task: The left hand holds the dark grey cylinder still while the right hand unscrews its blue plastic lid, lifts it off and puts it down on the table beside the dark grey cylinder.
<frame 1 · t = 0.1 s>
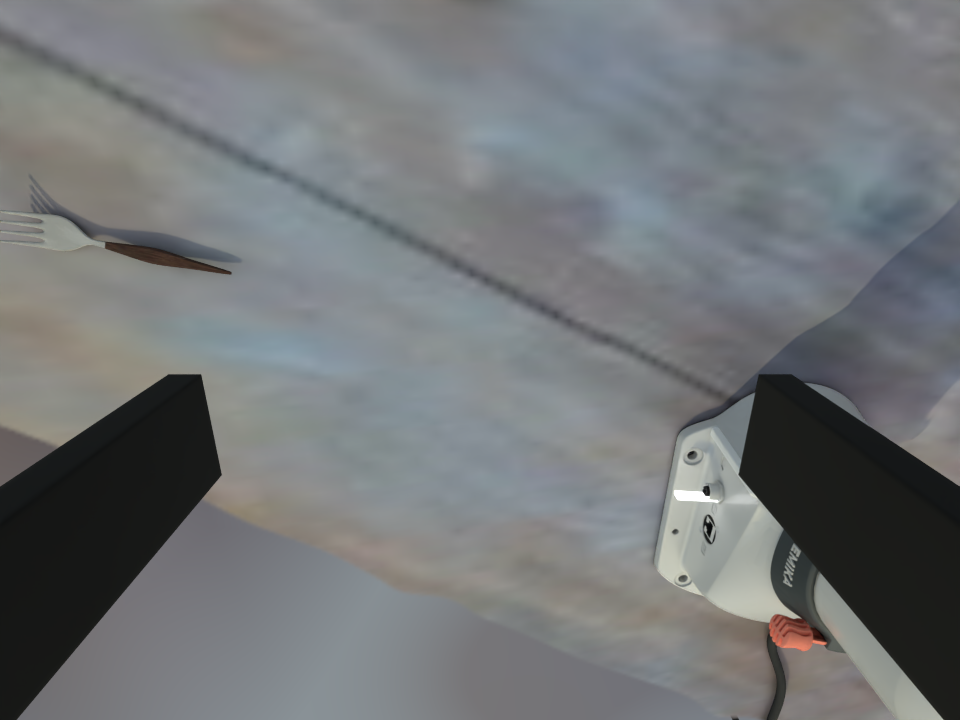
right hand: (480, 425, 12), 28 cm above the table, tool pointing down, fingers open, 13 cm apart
fork: (127, 247, 39), on the table
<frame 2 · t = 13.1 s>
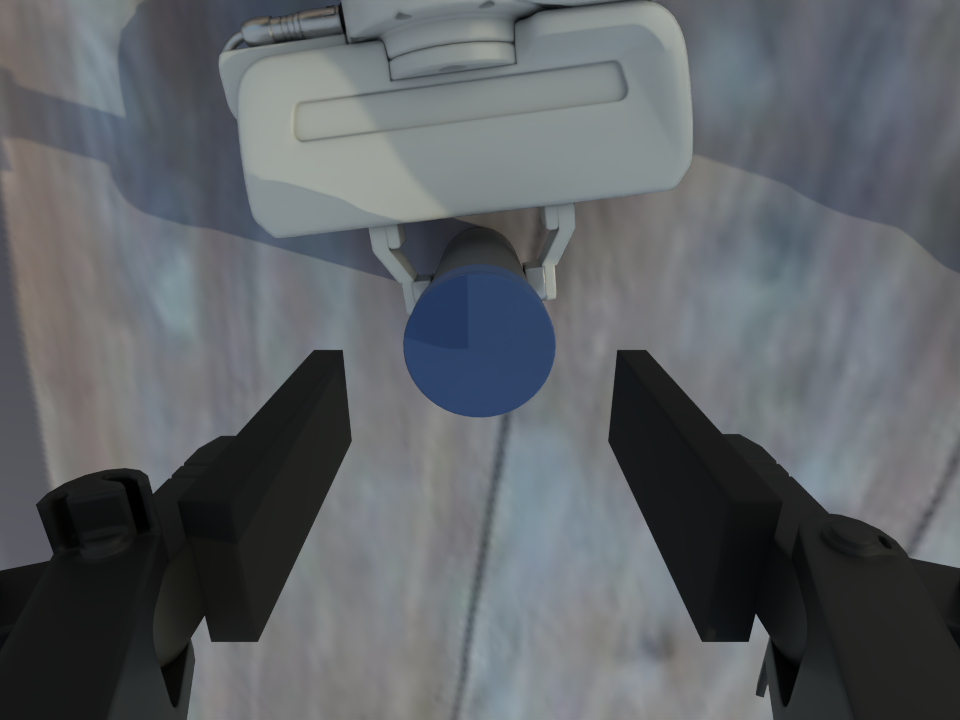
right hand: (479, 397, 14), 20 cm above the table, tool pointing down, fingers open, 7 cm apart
left hand: (482, 305, 27), fingers closed on dark grey cylinder, 5 cm apart
lid: (479, 346, 18), point 15 cm above the table, screwed on, not yet turned
dark grey cylinder: (479, 266, 32), on the table, touching left hand
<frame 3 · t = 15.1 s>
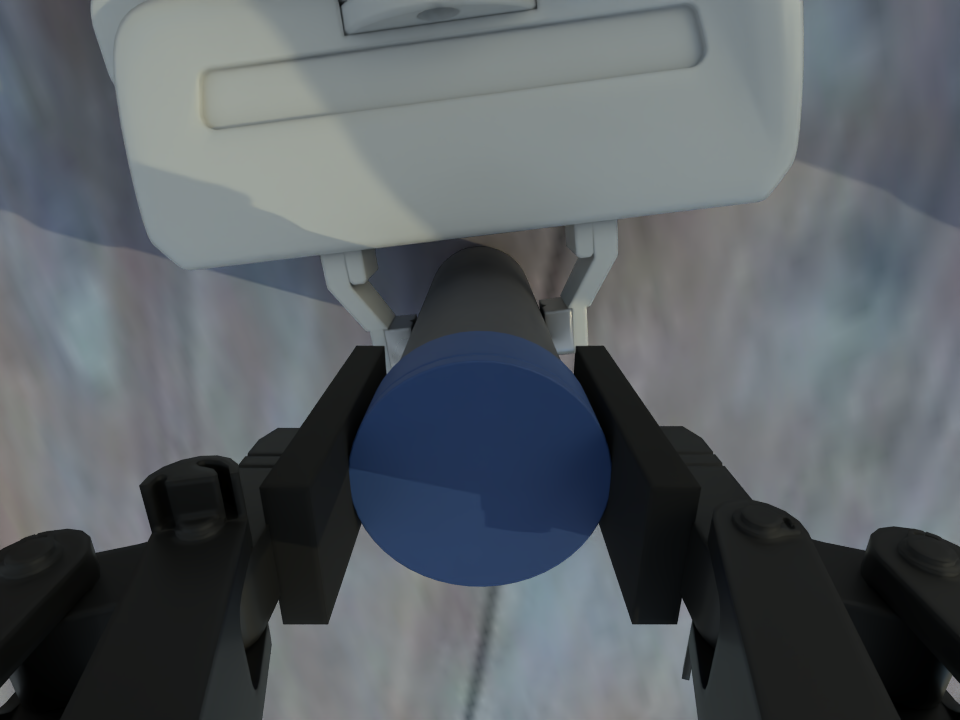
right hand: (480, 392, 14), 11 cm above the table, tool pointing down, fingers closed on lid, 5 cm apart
left hand: (484, 358, 19), fingers closed on dark grey cylinder, 5 cm apart
lid: (480, 474, 10), point 15 cm above the table, screwed on, not yet turned, touching right hand
dark grey cylinder: (480, 296, 25), on the table, touching left hand
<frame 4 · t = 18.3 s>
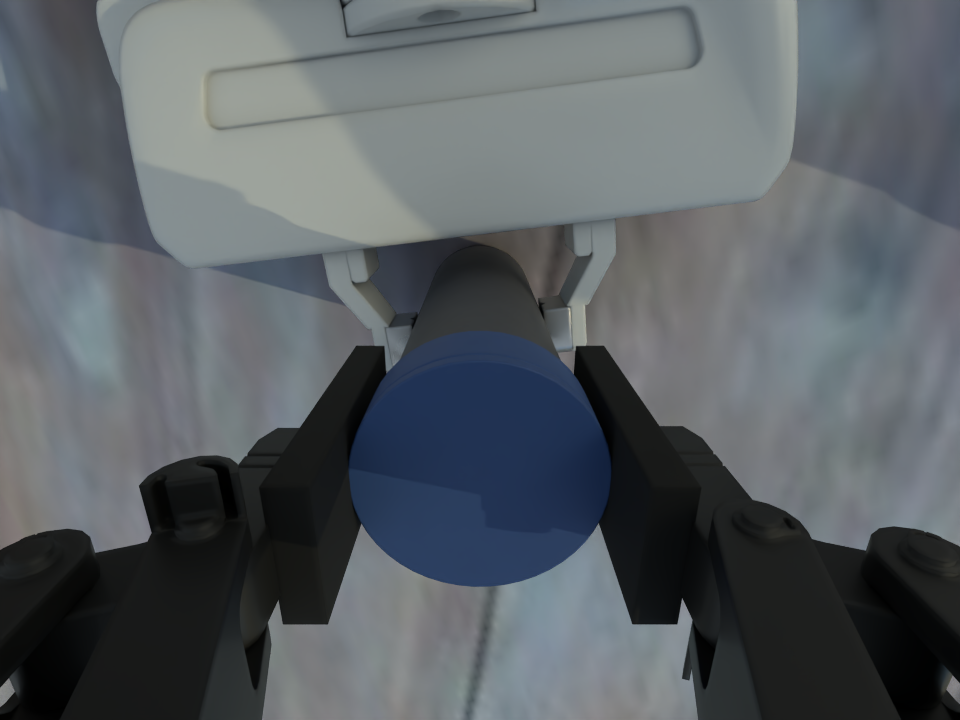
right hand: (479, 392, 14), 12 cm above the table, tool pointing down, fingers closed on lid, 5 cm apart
left hand: (483, 356, 20), fingers closed on dark grey cylinder, 5 cm apart
lid: (479, 474, 10), point 16 cm above the table, turned 85° so far, risen 0.3 cm, still on its thread, touching right hand
dark grey cylinder: (480, 295, 25), on the table, touching left hand
when the right hand's fingers open (0 cm above the table, at t = 25.0 s): lid stays where it is, point 2 cm above the table.
when the left hand's fingers open (6 cm above the table, at t = 26.0 s): dark grey cylinder stays where it is, on the table.
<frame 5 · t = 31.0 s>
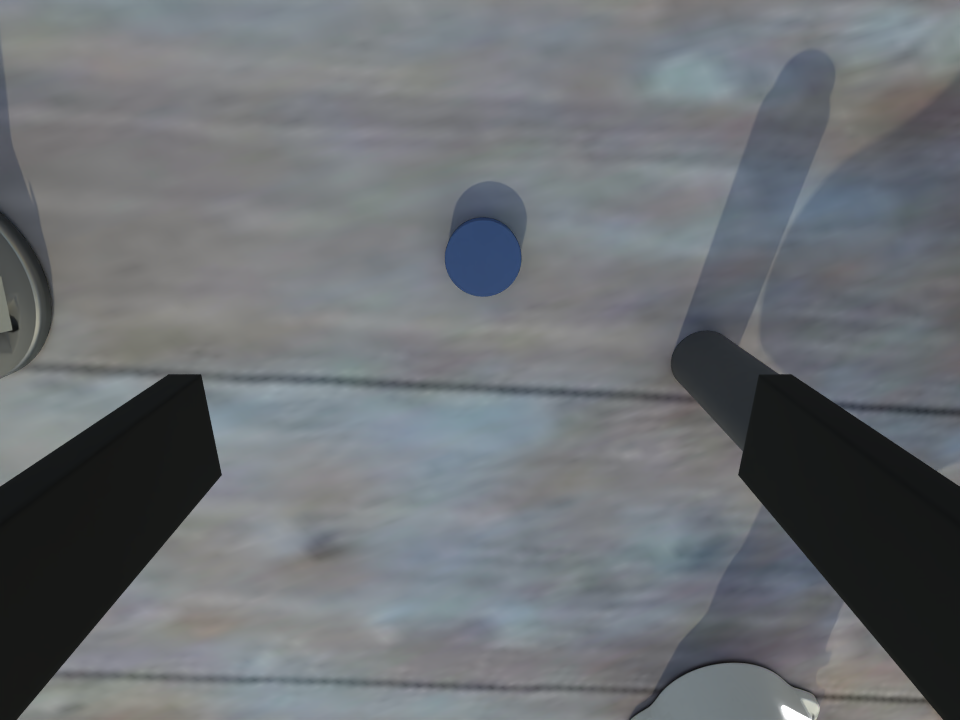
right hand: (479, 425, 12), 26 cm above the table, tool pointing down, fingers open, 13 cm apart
lid: (483, 258, 35), point 2 cm above the table, off its thread
dark grey cylinder: (702, 360, 40), on the table
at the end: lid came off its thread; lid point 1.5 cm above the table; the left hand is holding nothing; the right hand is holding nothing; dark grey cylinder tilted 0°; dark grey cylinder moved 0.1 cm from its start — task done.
